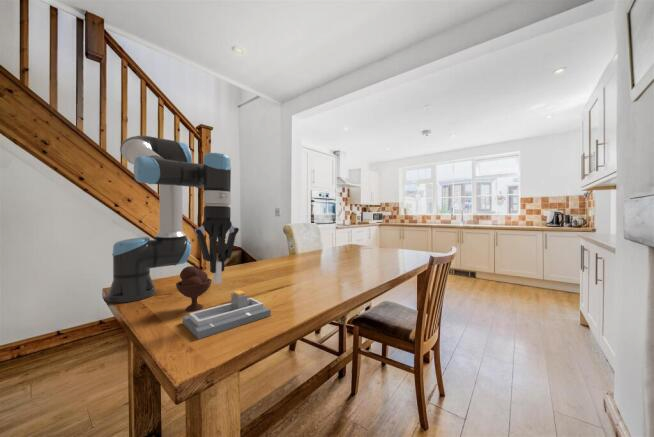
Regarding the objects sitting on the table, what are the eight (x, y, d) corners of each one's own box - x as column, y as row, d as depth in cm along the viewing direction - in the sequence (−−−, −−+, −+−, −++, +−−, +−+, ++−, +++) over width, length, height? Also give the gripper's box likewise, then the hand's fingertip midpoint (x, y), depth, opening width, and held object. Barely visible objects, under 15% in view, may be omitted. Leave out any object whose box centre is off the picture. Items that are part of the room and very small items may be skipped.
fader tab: (231, 309, 83) (231, 291, 83) (240, 306, 85) (240, 289, 85) (238, 313, 79) (238, 294, 79) (247, 310, 81) (247, 292, 81)
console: (182, 323, 77) (182, 311, 77) (249, 304, 92) (249, 295, 92) (198, 339, 67) (198, 326, 67) (270, 315, 82) (270, 304, 82)
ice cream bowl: (197, 315, 82) (197, 269, 82) (168, 313, 85) (168, 268, 84) (218, 304, 93) (217, 263, 93) (191, 302, 95) (191, 262, 95)
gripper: (198, 205, 70) (198, 290, 70) (243, 206, 79) (243, 281, 80) (189, 205, 75) (190, 284, 76) (232, 206, 84) (232, 276, 85)
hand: (217, 282), depth 78 cm, fingers closed
